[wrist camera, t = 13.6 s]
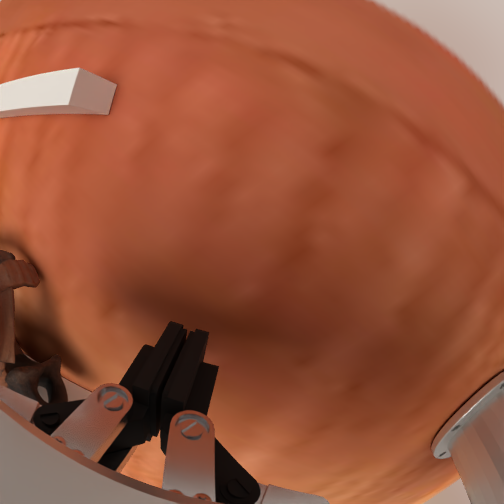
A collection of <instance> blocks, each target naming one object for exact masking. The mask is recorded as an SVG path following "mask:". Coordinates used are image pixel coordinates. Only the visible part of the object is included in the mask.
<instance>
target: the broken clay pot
mask: <svg viewBox="0 0 504 504" xmlns="http://www.w3.org/2000/svg"><path fill="white" fill-rule="evenodd" d="M39 283H40V280H39V277H38V274H37V272H36V269H35V268H34V266H33V265H32V264H30V263H26V262H25V261H24V260H15V256H14V255H13V254H12V253H9V252H6V251H3V250H0V386H4V387H6V388H8V389H10V390H12V391H14V392H17V393H19V394H21V395H23V396H25V397H28V398H30V399H32V400H35V401H37V402H38V403H39V405H42V406H43V405H47V404H54V403H62V402H68V395H67V391H66V387H65V384H64V382H63V380H62V378H61V374H60V368H61V358H60V356H59V355H57V354H55V355H54V356H52V357H51V358H50V359H49V360H47V361H45V362H43V363H38V362H36V361H33V360H31V359H29V358H28V357H27V356H26V355H25V354H24V353H23V351H22V350H21V348H20V346H19V345H18V343H17V341H16V339H15V331H14V311H15V307H14V291H13V289H16V288H19V287H22V286H27V287H37V286H38V284H39ZM38 386H41V387H44V388H45V389H46V390H47V395H48V403H47V402H46V401H44V400H43V399H42V397H41V396H40V394H39V392H38Z"/></svg>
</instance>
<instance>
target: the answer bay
mask: <svg viewBox="0 0 504 504" xmlns="http://www.w3.org/2000/svg"><path fill="white" fill-rule="evenodd" d="M116 86H117V84H115V83H113V82H110V81H108V80H106V79H104V78H102V77H100V76H97V75H95V74H93V73H91V72H88V71H86V70H84V69H82V68H74V69H66V70H60V71H54V72H49V73H43V74H38V75H34V76H29V77H25V78H21V79H17V80H14V81H10V82H7V83H3V84H0V118H5V117H15V116H26V115H43V114H102V115H109V111H110V107H111V103H112V100H113V96H114V93H115V90H116ZM25 355H26V354H25ZM26 356H27V355H26ZM27 357H28V358H29V359H31V360H33V359H32V358H30V357H29V356H27ZM33 361H35V360H33ZM61 378H62V380H63V382H64V384H65V387H66V391H67V395H68V402H69V401H75V400H82V399H86V398H87V397H88V396H89V395H90V394H91V393H92V392H90V391H88V390H86V389H84V388H82V387H80V386H78V385H76V384H74V383H72V382H70V381H68V380H67V379H65V378H63V377H61ZM38 392H39V394H40V396H41V397H42V399H43V400H44V401H46V402H47V403H48V395H47V390H46V389H45V388H44V387H41V386H38Z"/></svg>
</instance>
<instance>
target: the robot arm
mask: <svg viewBox="0 0 504 504" xmlns="http://www.w3.org/2000/svg"><path fill="white" fill-rule="evenodd" d="M186 335H187V329H183V325H182V324H178V323H175V322H172V321H170V323H169V324H168V326H167V327H166V329H165V331H164V332H163V334H162V336H161V337H160V339H159V341H158V342H157V344H156V345H155V347H152V346H149V345H144V346H143V347H142V349H141V350H140V352H139V353H138V355H137V357H136V358H135V360H134V361H133V363H132V364H131V366H130V367H129V369H128V371H127V372H126V374H125V375H124V377H123V378H122V380H121V382H120V383H119V385H118V384H113V383H108V384H103V385H100V386H99V387H98V388H96V389H95V390H94V391H93V392H92V393H91V394H90V395H89V396H88V397H87V398H86V399H82V400H75V401H69V402H62V403H54V404H47V405H43V406H42V405H39V403H38V402H37V401H35V400H32V399H30V398H28V397H25V396H23V395H21V394H19V393H17V392H14V391H12V390H10V389H8V388H6V387H4V386H0V504H329V502H328V501H327V500H326V499H325V498H323V497H320V496H317V495H312V494H307V493H302V492H297V491H293V490H289V489H285V488H281V487H277V486H274V485H270V484H269V485H268V486H267V485H263V484H260V483H257V481H256V480H255V479H254V478H253V477H252V476H251V475H250V474H249V473H248V472H247V471H246V470H245V469H244V468H243V467H242V466H241V465H240V464H239V463H238V462H237V461H236V460H235V459H234V458H233V457H232V456H231V455H230V454H229V452H228V451H227V450H226V449H225V448H224V447H223V446H222V445H221V444H220V443H219V441H218V440H217V439H216V438H215V429H214V424H213V423H212V421H211V420H210V419H209V418H208V417H207V412H208V408H209V404H210V400H211V396H212V392H213V388H214V384H215V380H216V376H217V372H218V368H219V366H216V365H212V364H208V363H204V362H203V360H204V355H205V350H206V345H207V340H208V336H209V332H206V331H202V330H199V329H196V330H195V332H193V331H190V333H189V335H188V337H187V339H186ZM159 431H160V438H161V450H162V451H163V453H164V454H165V456H166V459H165V467H164V475H163V485H162V489H161V488H158V487H155V486H152V485H149V484H146V483H143V482H141V481H138V480H135V479H133V478H130V477H128V476H125V475H123V474H120V472H121V471H122V469H123V468H124V466H125V465H126V463H127V462H128V461H129V459H130V458H131V456H132V455H133V453H134V452H135V450H136V448H137V446H138V445H140V444H143V443H145V441H146V440H147V441H149V442H150V440H151V438H152V436H155V437H157V436H158V433H159ZM431 450H432V452H433V455H434V457H435V458H438V459H444V458H448V457H452V459H453V461H454V464H455V466H456V468H457V470H458V473H459V475H460V477H461V479H462V482H463V485H464V487H465V489H466V492H467V495H468V497H469V500H470V502H471V504H504V372H502V373H500V374H499V375H498V376H496V377H495V378H494V379H492V380H491V381H490V382H489V383H488V384H486V385H485V386H484V387H483V388H482V389H480V390H479V391H478V392H477V393H476V394H475V395H474V396H473V397H472V398H470V399H469V400H468V401H467V402H466V403H465V404H464V405H463V406H462V407H461V408H460V409H459V410H458V411H457V412H456V413H455V414H454V415H453V416H452V417H451V418H450V420H449V421H448V422H447V423H446V424H445V425H444V426H443V428H442V429H441V430H440V431H439V433H438V434H437V436H436V437H435V439H434V441H433V443H432V447H431Z"/></svg>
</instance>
